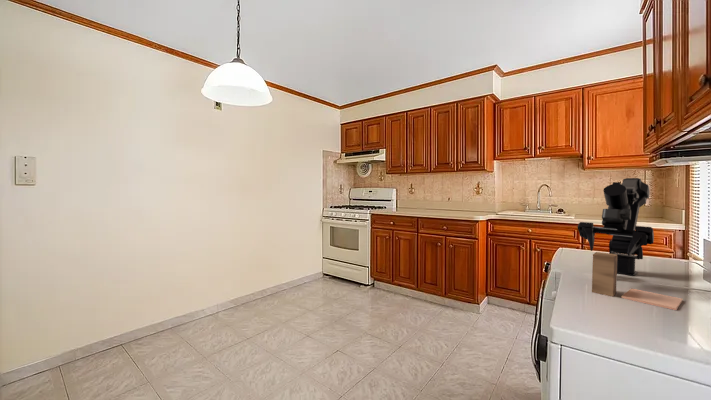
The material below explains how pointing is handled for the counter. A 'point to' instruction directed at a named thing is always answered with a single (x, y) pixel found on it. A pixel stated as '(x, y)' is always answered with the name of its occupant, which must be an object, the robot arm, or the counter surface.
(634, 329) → the counter surface
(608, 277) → the walnut block
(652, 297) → the terracotta tile
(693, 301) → the counter surface
